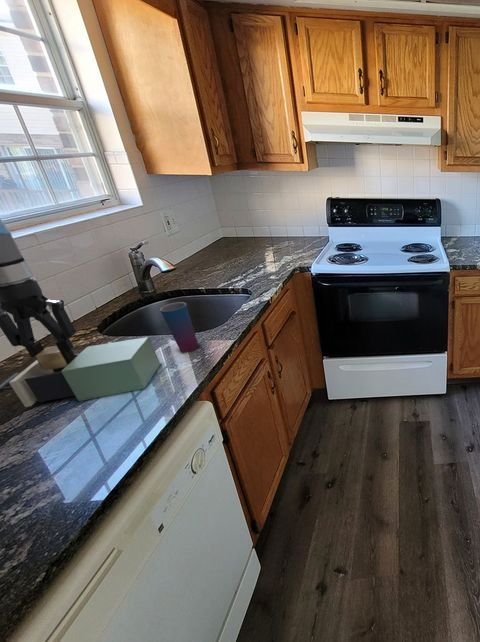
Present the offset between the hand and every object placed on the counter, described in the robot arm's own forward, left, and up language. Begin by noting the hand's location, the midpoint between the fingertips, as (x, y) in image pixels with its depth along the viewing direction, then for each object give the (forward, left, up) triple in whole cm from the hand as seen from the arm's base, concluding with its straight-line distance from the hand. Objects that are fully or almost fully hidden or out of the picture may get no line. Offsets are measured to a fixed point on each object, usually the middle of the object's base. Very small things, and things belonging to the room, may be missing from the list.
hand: (59, 363), depth 96 cm
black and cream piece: (-3, 0, -8) cm, 9 cm away
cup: (+24, +14, -9) cm, 29 cm away
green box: (+11, 0, -9) cm, 14 cm away
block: (0, 0, 0) cm, 0 cm away
